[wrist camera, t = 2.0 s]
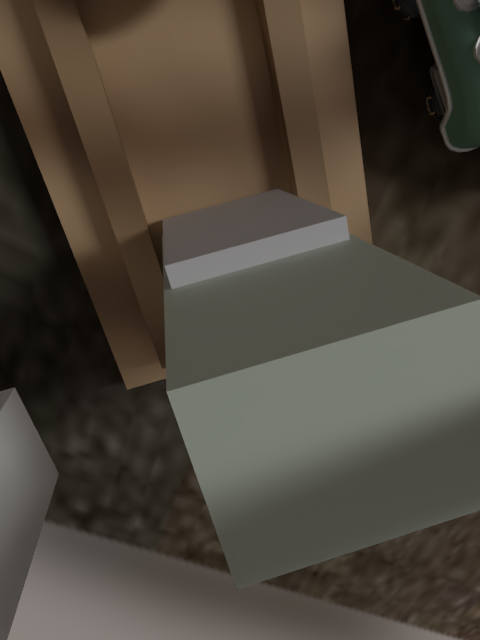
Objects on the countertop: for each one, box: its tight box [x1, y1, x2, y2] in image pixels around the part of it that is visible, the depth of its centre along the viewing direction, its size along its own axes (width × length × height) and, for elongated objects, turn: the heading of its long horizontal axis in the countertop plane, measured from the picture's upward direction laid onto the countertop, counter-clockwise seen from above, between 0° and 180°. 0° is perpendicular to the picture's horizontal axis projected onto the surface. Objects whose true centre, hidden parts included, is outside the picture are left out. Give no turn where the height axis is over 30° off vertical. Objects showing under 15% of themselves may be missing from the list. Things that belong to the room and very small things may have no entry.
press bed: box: [0, 0, 372, 390], centre depth 14 cm, size 20×12×7 cm, turn 14°
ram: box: [162, 189, 480, 589], centre depth 13 cm, size 5×5×12 cm
